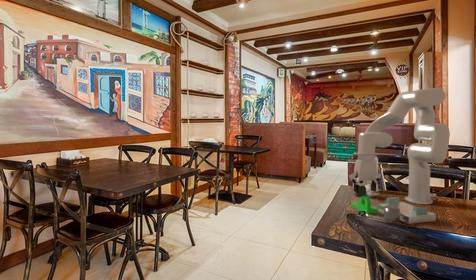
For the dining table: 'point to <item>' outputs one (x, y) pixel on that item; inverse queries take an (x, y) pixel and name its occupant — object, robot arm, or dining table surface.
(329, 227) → the dining table surface
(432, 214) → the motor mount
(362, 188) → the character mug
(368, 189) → the bottle
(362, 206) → the mechanical part
